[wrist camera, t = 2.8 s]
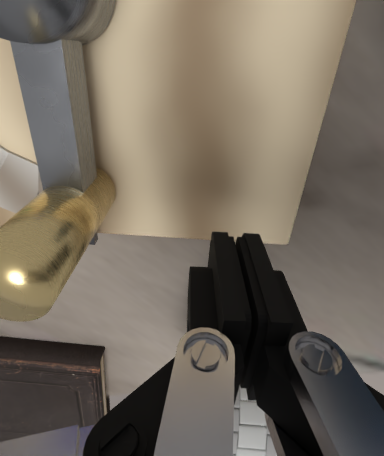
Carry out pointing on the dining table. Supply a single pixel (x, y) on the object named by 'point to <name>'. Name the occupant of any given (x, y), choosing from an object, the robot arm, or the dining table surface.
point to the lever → (53, 152)
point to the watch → (250, 428)
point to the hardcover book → (49, 386)
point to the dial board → (195, 114)
